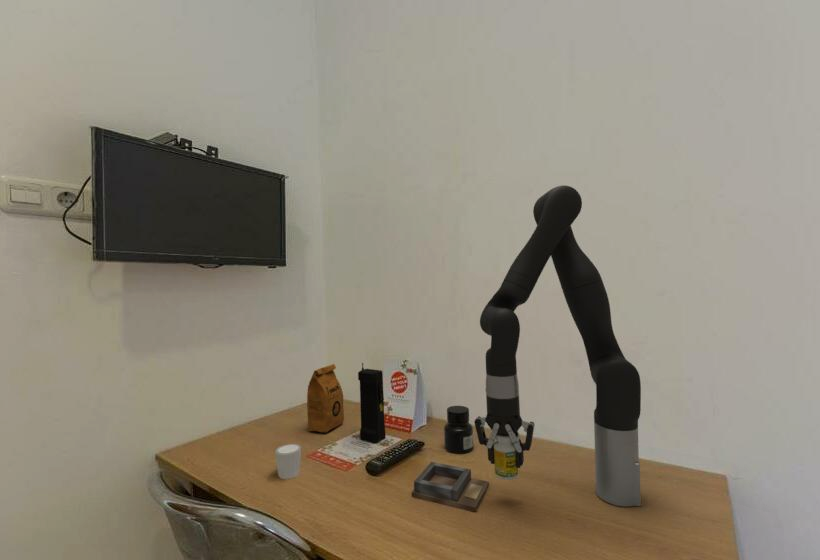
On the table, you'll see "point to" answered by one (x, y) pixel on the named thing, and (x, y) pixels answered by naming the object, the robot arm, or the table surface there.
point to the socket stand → (450, 486)
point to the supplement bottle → (505, 458)
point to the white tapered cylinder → (288, 460)
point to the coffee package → (324, 400)
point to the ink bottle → (458, 430)
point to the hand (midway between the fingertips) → (505, 464)
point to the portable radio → (371, 405)
